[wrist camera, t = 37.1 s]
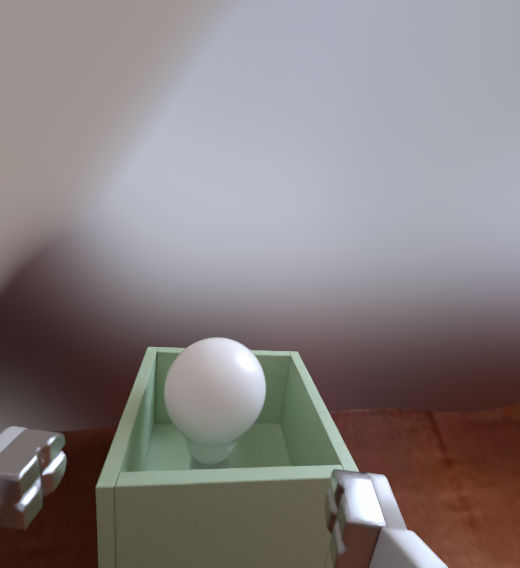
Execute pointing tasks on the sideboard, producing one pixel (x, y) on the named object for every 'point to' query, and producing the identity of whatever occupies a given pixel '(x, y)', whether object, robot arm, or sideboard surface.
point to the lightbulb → (214, 398)
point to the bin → (221, 480)
